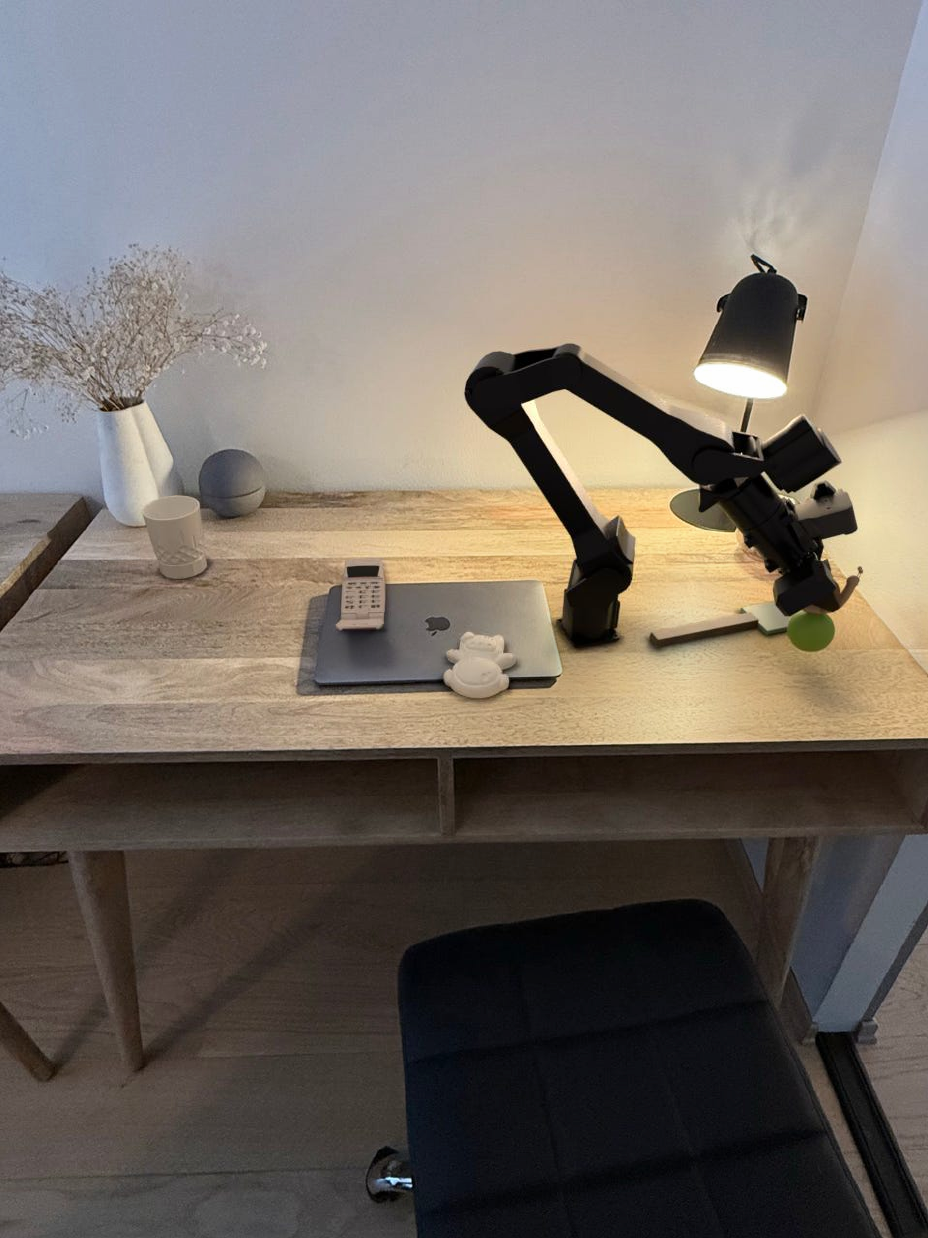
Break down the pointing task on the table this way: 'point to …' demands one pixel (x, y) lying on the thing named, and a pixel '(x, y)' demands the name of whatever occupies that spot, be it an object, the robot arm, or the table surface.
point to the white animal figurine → (479, 666)
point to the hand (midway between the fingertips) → (835, 605)
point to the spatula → (726, 625)
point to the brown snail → (818, 620)
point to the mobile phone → (362, 594)
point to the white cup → (176, 535)
